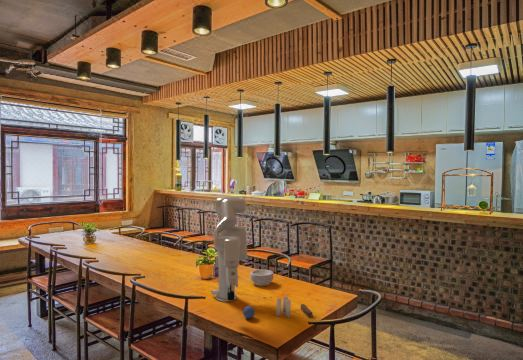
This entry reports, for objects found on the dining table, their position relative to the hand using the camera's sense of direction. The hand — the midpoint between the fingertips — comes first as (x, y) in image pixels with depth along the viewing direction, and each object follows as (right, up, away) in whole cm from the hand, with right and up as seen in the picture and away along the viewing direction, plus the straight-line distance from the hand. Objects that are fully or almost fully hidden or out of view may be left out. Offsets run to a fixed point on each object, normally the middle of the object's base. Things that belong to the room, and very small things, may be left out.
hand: (230, 299), depth 176 cm
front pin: (+24, -11, +7) cm, 28 cm away
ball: (+9, -8, +3) cm, 12 cm away
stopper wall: (+39, -11, +11) cm, 42 cm away
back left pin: (+28, -11, +11) cm, 32 cm away
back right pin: (+29, -11, +6) cm, 32 cm away
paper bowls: (+16, -10, +58) cm, 61 cm away
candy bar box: (-16, -9, +77) cm, 79 cm away
